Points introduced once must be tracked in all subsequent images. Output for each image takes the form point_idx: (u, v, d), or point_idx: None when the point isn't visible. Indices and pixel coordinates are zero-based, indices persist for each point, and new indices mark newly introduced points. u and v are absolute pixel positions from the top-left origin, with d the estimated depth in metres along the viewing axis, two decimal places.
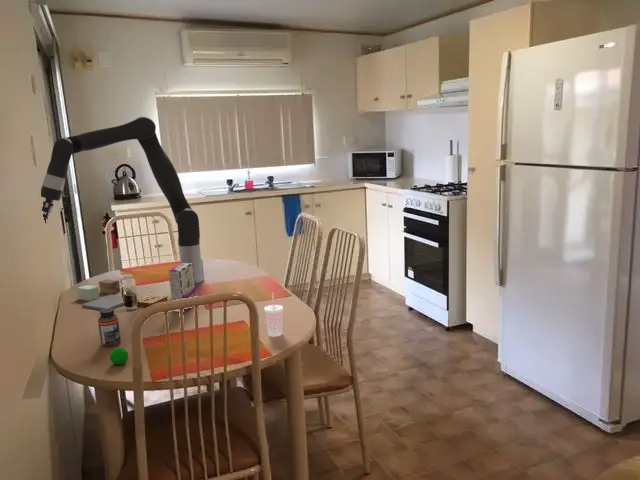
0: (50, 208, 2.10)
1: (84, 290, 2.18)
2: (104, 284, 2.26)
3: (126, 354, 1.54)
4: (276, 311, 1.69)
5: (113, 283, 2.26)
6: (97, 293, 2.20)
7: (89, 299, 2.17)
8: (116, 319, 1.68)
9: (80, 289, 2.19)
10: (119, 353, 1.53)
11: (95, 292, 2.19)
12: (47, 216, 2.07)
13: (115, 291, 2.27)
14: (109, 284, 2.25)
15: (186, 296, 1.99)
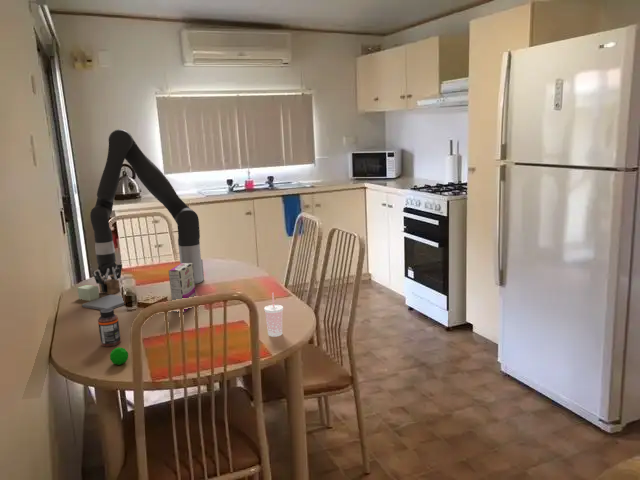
0: (105, 273, 2.24)
1: (84, 290, 2.18)
2: None
3: (126, 354, 1.54)
4: (276, 311, 1.69)
5: (113, 283, 2.26)
6: (97, 293, 2.20)
7: (89, 299, 2.17)
8: (116, 319, 1.68)
9: (80, 289, 2.19)
10: (119, 353, 1.53)
11: (95, 292, 2.19)
12: (101, 282, 2.23)
13: (115, 291, 2.27)
14: (109, 284, 2.25)
15: (186, 296, 1.99)
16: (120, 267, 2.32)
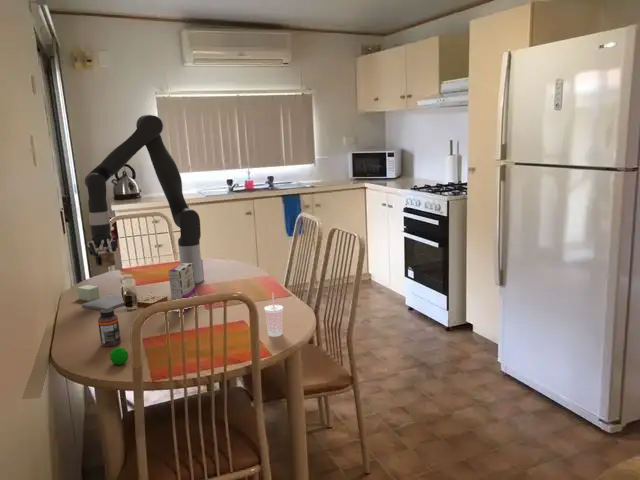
0: (99, 245, 2.14)
1: (84, 290, 2.18)
2: None
3: (126, 354, 1.54)
4: (276, 311, 1.69)
5: (107, 255, 2.15)
6: (97, 293, 2.20)
7: (89, 299, 2.17)
8: (116, 319, 1.68)
9: (80, 289, 2.19)
10: (119, 353, 1.53)
11: (95, 292, 2.19)
12: (95, 254, 2.12)
13: (110, 264, 2.16)
14: (103, 256, 2.14)
15: (186, 296, 1.99)
16: (116, 239, 2.21)
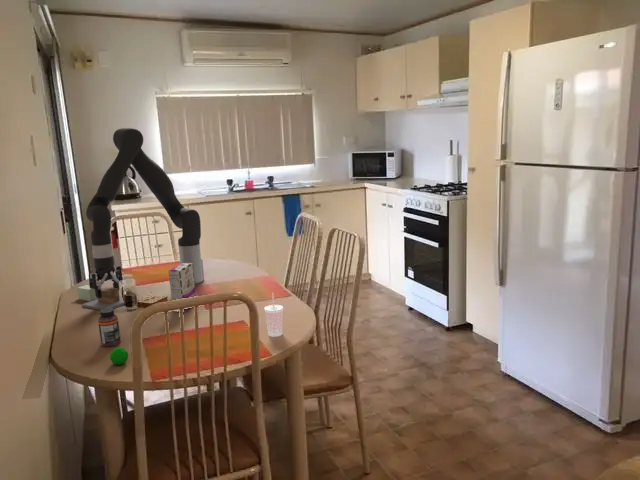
0: (102, 277, 2.07)
1: (84, 290, 2.18)
2: (102, 292, 2.10)
3: (126, 354, 1.54)
4: (276, 311, 1.69)
5: (112, 291, 2.09)
6: None
7: (89, 299, 2.17)
8: (116, 319, 1.68)
9: (80, 289, 2.19)
10: (119, 353, 1.53)
11: None
12: (95, 287, 2.05)
13: (114, 300, 2.11)
14: (108, 292, 2.08)
15: (186, 296, 1.99)
16: (120, 269, 2.15)
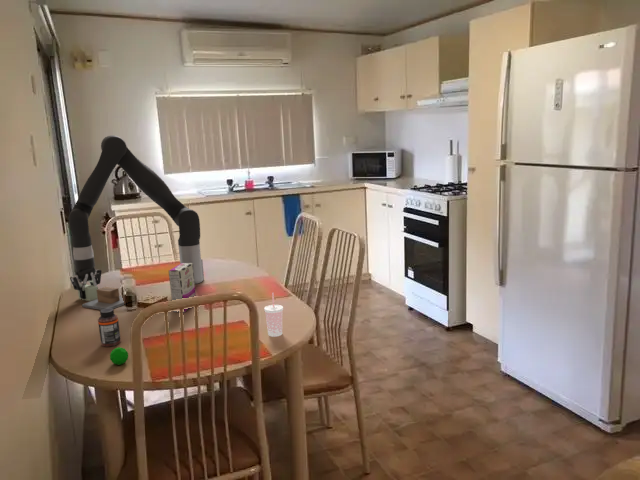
0: (83, 279, 2.16)
1: None
2: (102, 292, 2.10)
3: (126, 354, 1.54)
4: (276, 311, 1.69)
5: (112, 291, 2.09)
6: None
7: (89, 299, 2.17)
8: (116, 319, 1.68)
9: None
10: (119, 353, 1.53)
11: (95, 292, 2.19)
12: (79, 288, 2.15)
13: (114, 300, 2.11)
14: (108, 292, 2.08)
15: (186, 296, 1.99)
16: (100, 272, 2.23)
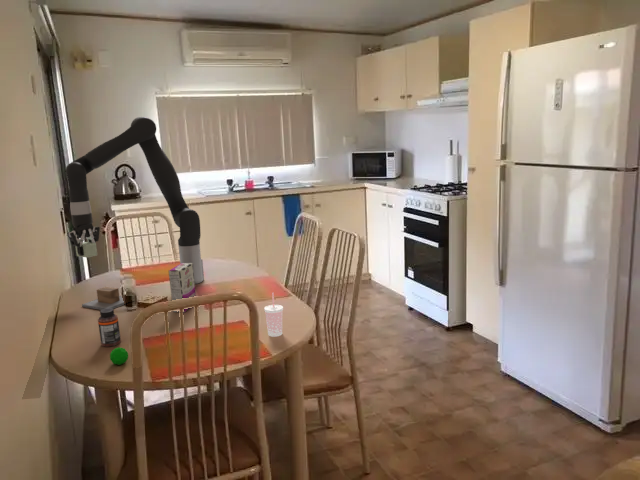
0: (81, 235, 2.12)
1: None
2: (102, 292, 2.10)
3: (126, 354, 1.54)
4: (276, 311, 1.69)
5: (112, 291, 2.09)
6: (95, 250, 2.15)
7: (86, 255, 2.13)
8: (116, 319, 1.68)
9: None
10: (119, 353, 1.53)
11: (93, 249, 2.14)
12: (76, 244, 2.10)
13: (114, 300, 2.11)
14: (108, 292, 2.08)
15: (186, 296, 1.99)
16: (98, 229, 2.19)
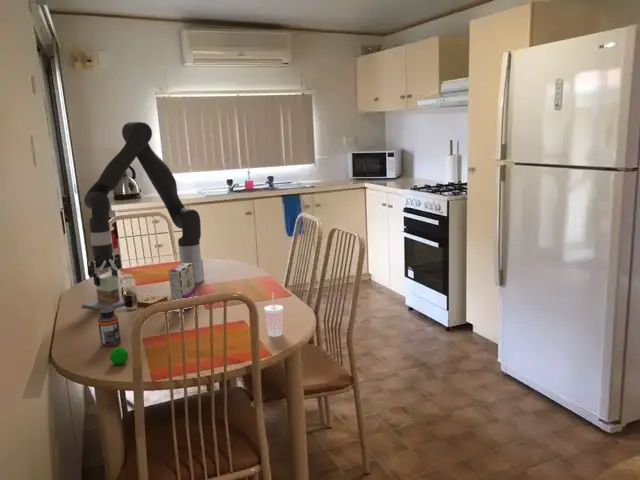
0: (100, 265, 2.06)
1: (102, 280, 2.08)
2: (102, 292, 2.10)
3: (126, 354, 1.54)
4: (276, 311, 1.69)
5: (112, 291, 2.09)
6: (116, 283, 2.11)
7: (108, 289, 2.08)
8: (116, 319, 1.68)
9: None
10: (119, 353, 1.53)
11: (114, 282, 2.10)
12: (93, 274, 2.04)
13: (114, 300, 2.11)
14: (108, 292, 2.08)
15: (186, 296, 1.99)
16: (118, 257, 2.14)
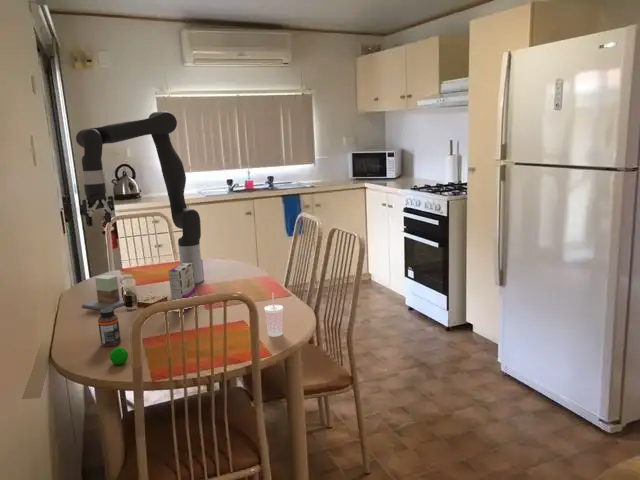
0: (93, 205, 2.02)
1: (102, 280, 2.08)
2: (102, 292, 2.10)
3: (126, 354, 1.54)
4: (276, 311, 1.69)
5: (112, 291, 2.09)
6: (116, 283, 2.11)
7: (108, 289, 2.08)
8: (116, 319, 1.68)
9: (98, 279, 2.09)
10: (119, 353, 1.53)
11: (114, 282, 2.10)
12: (85, 213, 1.99)
13: (114, 300, 2.11)
14: (108, 292, 2.08)
15: (186, 296, 1.99)
16: (111, 198, 2.09)
